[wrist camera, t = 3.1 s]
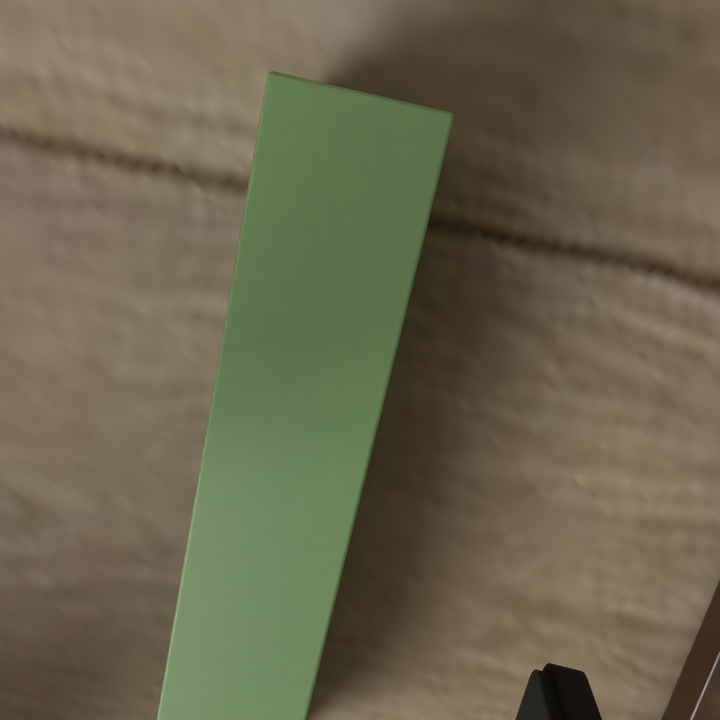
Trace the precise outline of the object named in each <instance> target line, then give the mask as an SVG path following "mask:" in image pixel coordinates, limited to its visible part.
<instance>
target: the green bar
mask: <svg viewBox="0 0 720 720" xmlns="http://www.w3.org/2000/svg"><path fill="white" fill-rule="evenodd" d="M453 119H454V116H453V114H452V113H451V112H448V111H443V110H439V109H435V108H430V107H426V106H422V105H417V104H413V103H408V102H404V101H400V100H395V99H391V98H387V97H382V96H378V95H374V94H369V93H365V92H361V91H356V90H352V89H347V88H343V87H339V86H334V85H330V84H326V83H321V82H317V81H313V80H308V79H304V78H300V77H295V76H291V75H286V74H282V73H278V72H273V71H272V72H269V74H268V75H267V81H266V86H265V92H264V98H263V104H262V110H261V115H260V121H259V127H258V133H257V139H256V144H255V150H254V156H253V162H252V168H251V173H250V179H249V185H248V191H247V197H246V202H245V208H244V214H243V220H242V226H241V231H240V237H239V243H238V249H237V255H236V260H235V266H234V272H233V278H232V284H231V289H230V295H229V301H228V307H227V313H226V318H225V324H224V330H223V336H222V342H221V347H220V353H219V359H218V365H217V371H216V376H215V382H214V388H213V394H212V400H211V406H210V411H209V417H208V423H207V429H206V435H205V440H204V446H203V452H202V458H201V464H200V469H199V475H198V481H197V487H196V493H195V498H194V504H193V510H192V516H191V522H190V527H189V533H188V539H187V545H186V551H185V556H184V562H183V568H182V574H181V580H180V585H179V591H178V597H177V603H176V609H175V614H174V620H173V626H172V632H171V638H170V643H169V649H168V655H167V661H166V667H165V672H164V678H163V684H162V690H161V696H160V701H159V707H158V713H157V719H156V720H306V719H307V715H308V710H309V706H310V702H311V698H312V694H313V690H314V686H315V682H316V678H317V674H318V670H319V666H320V662H321V657H322V653H323V649H324V645H325V641H326V637H327V633H328V629H329V625H330V621H331V617H332V613H333V609H334V604H335V600H336V596H337V592H338V588H339V584H340V580H341V576H342V572H343V568H344V564H345V560H346V556H347V552H348V547H349V543H350V539H351V535H352V531H353V527H354V523H355V519H356V515H357V511H358V507H359V503H360V499H361V494H362V490H363V486H364V482H365V478H366V474H367V470H368V466H369V462H370V458H371V454H372V450H373V446H374V441H375V437H376V433H377V429H378V425H379V421H380V417H381V413H382V409H383V405H384V401H385V397H386V393H387V388H388V384H389V380H390V376H391V372H392V368H393V364H394V360H395V356H396V352H397V348H398V344H399V340H400V335H401V331H402V327H403V323H404V319H405V315H406V311H407V307H408V303H409V299H410V295H411V291H412V287H413V282H414V278H415V274H416V270H417V266H418V262H419V258H420V254H421V250H422V246H423V242H424V238H425V234H426V230H427V225H428V221H429V217H430V213H431V209H432V205H433V201H434V197H435V193H436V189H437V185H438V181H439V177H440V172H441V168H442V164H443V160H444V156H445V152H446V148H447V144H448V140H449V136H450V132H451V128H452V124H453Z"/></svg>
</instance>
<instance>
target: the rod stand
mask: <svg viewBox="0 0 720 720" xmlns="http://www.w3.org/2000/svg"><path fill="white" fill-rule="evenodd" d="M662 720H720V582H719V584H718V587H717V589H716V591H715V594H714V596H713V599H712V601H711V603H710V606H709V608H708V611H707V613H706V615H705V618H704V620H703V622H702V625H701V627H700V630H699V632H698V634H697V637H696V639H695V642H694V644H693V646H692V649H691V651H690V654H689V656H688V658H687V661H686V663H685V665H684V668H683V670H682V673H681V675H680V677H679V680H678V682H677V685H676V687H675V689H674V692H673V694H672V697H671V699H670V701H669V704H668V706H667V708H666V711H665V713H664V716H663V718H662Z"/></svg>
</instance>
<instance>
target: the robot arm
mask: <svg viewBox="0 0 720 720" xmlns="http://www.w3.org/2000/svg"><path fill="white" fill-rule="evenodd" d="M516 720H602V718H601V716H600V713H599V710H598V707H597V704H596V702H595V699H594V696H593V693H592V690H591V688H590V685H589V682H588V679H587V677H586V675H585V673H584V672H582V671H579V670H575V669H571V668H567V667H563V666H559V665H555V664H551V663H549V664H546V666H545V667H544V669H543V671H540V670H534V671H533V672H532V673H531V676H530V678H529V681H528V684H527V687H526V690H525V693H524V696H523V699H522V702H521V705H520V708H519V711H518V714H517V717H516Z"/></svg>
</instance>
